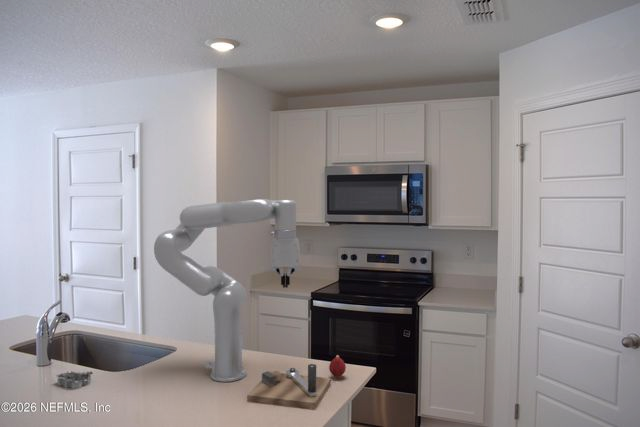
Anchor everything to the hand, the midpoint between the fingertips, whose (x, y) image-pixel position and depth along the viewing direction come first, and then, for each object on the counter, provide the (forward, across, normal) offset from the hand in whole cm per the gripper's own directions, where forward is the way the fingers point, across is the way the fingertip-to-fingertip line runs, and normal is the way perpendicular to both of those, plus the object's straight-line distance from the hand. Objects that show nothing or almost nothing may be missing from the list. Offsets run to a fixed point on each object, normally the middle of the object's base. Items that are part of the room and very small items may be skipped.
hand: (285, 286), depth 164 cm
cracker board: (+32, +2, -13) cm, 35 cm away
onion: (+32, +18, -2) cm, 37 cm away
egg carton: (+33, -72, -3) cm, 79 cm away
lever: (+30, +5, -13) cm, 33 cm away
